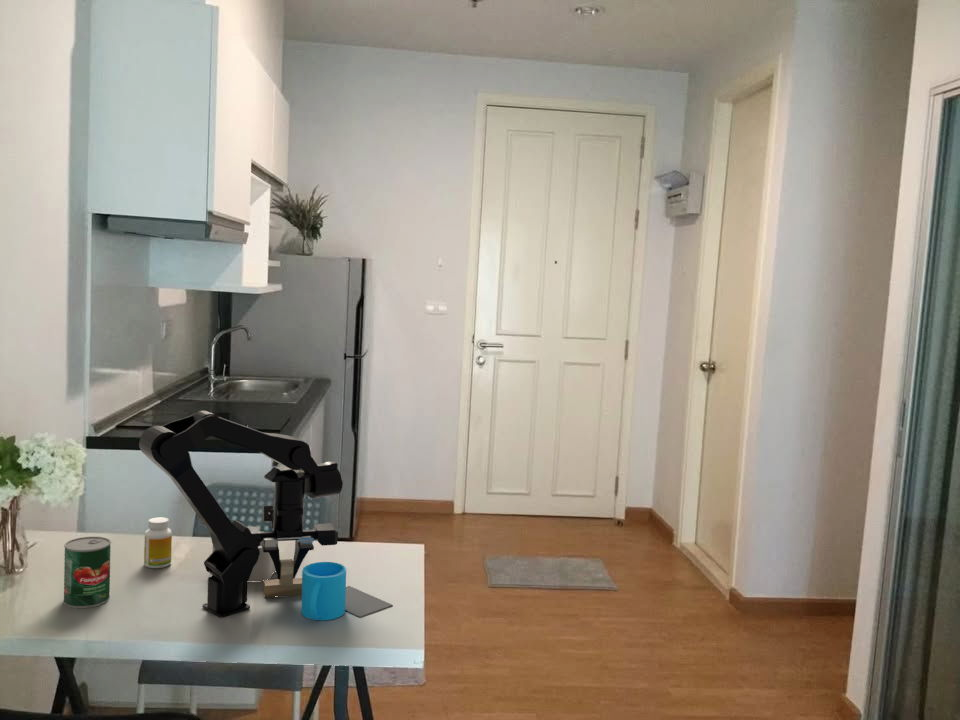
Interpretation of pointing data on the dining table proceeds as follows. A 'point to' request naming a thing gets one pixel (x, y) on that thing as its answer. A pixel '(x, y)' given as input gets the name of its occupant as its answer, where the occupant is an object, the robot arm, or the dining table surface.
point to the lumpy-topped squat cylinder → (262, 566)
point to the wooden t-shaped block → (284, 582)
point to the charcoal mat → (362, 602)
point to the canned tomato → (87, 572)
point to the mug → (323, 590)
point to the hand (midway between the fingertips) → (286, 578)
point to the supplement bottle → (157, 543)
